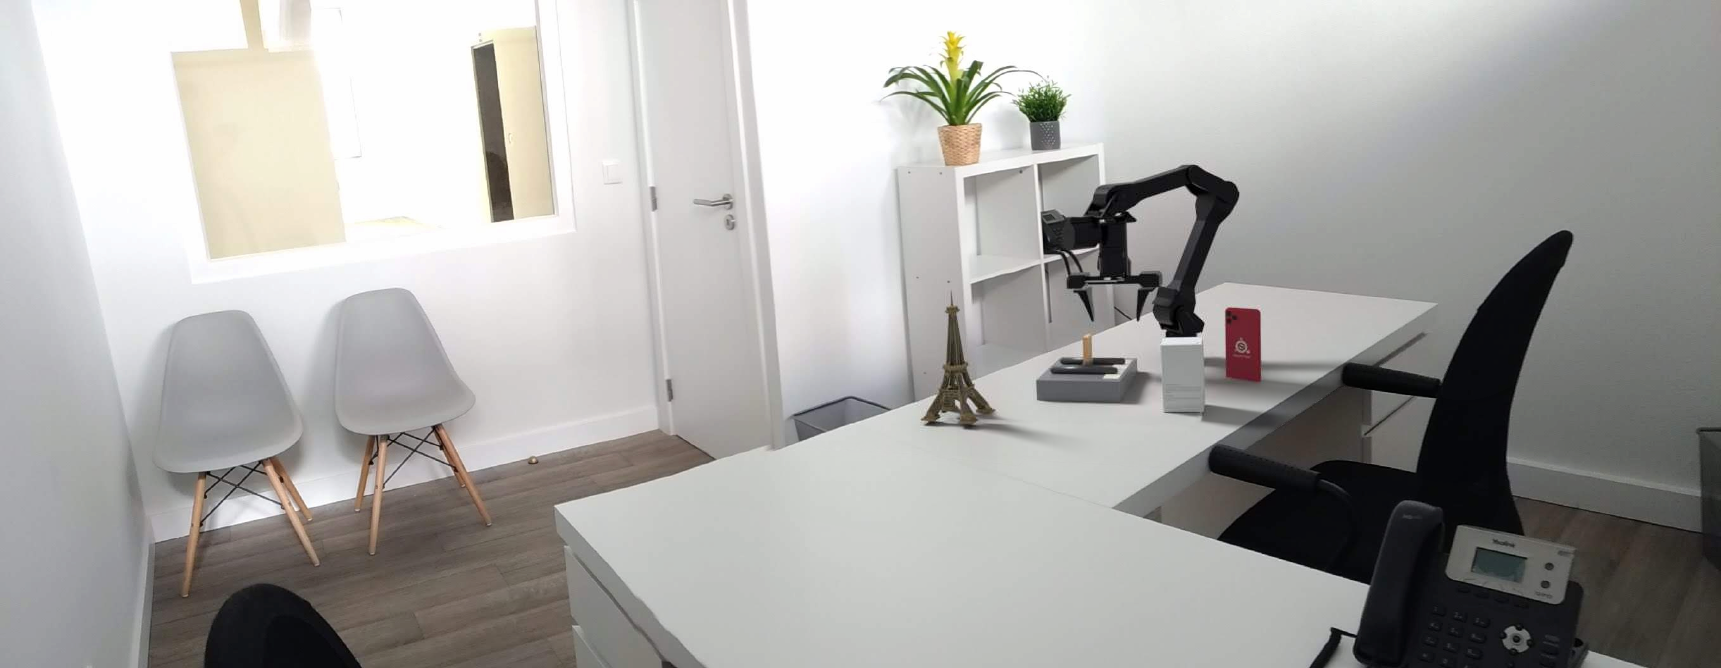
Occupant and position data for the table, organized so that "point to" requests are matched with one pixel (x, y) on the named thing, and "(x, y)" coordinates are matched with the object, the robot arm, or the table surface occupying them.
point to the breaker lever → (1087, 351)
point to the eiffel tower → (956, 379)
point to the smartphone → (1243, 343)
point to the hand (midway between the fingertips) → (1115, 321)
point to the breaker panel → (1087, 380)
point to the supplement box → (1183, 374)
